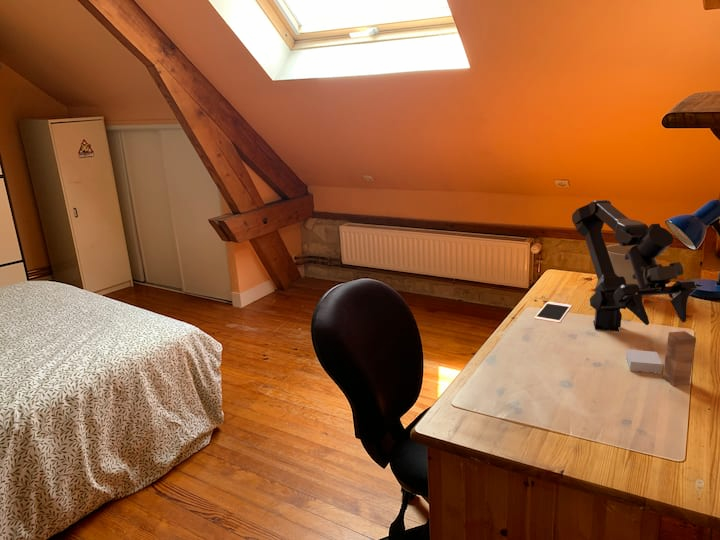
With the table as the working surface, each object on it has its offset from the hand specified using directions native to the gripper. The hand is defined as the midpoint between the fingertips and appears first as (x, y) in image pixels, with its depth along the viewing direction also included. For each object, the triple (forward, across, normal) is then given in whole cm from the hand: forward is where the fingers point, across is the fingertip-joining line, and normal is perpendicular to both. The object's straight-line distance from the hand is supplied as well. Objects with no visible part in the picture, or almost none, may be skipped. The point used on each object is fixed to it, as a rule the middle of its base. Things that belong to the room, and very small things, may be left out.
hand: (666, 323), depth 134 cm
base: (+7, -3, +10) cm, 13 cm away
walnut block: (+13, 0, +4) cm, 14 cm away
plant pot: (-28, +19, +45) cm, 56 cm away
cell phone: (-20, -10, +38) cm, 44 cm away
